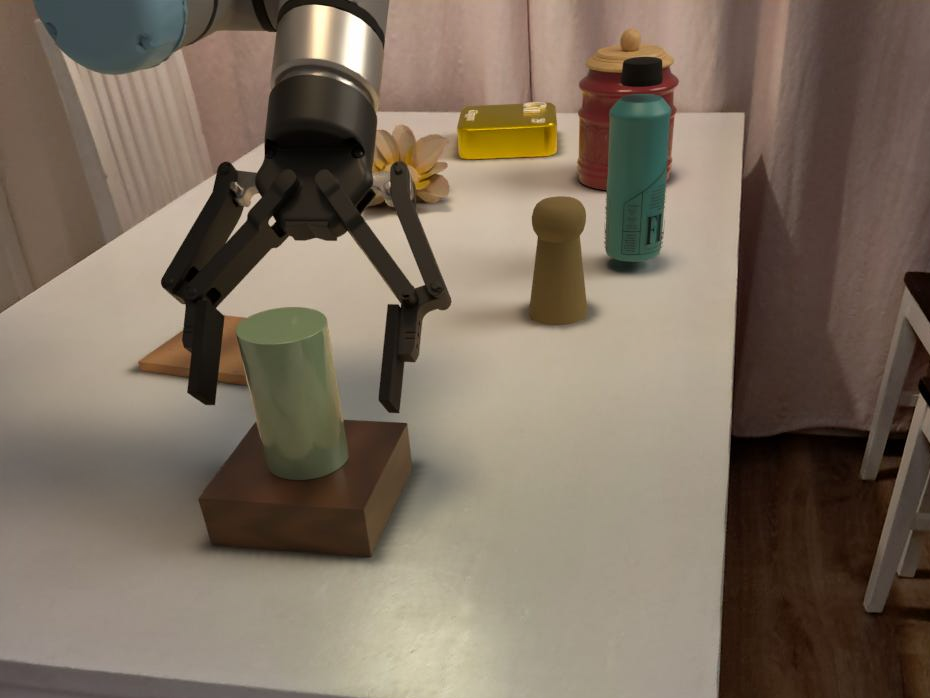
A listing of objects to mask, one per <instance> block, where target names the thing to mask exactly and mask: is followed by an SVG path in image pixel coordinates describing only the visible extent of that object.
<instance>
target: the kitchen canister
mask: <svg viewBox="0 0 930 698" xmlns="http://www.w3.org/2000/svg"><path fill="white" fill-rule="evenodd" d="M619 40H620V41H619V42H620V44H617V45H616V44H615V45H610V46H605V47H602V48H599V49H597V51H596V52H595V54H593V55H592V56H591V57H588V59H587V60H586V61H585V66H586V68H588V72H587V74H586V75H585V76H584V77H582V78H581V80H579V81H578V87H579V89H580V90H581V92H582V99H581V107H580V108H579V109H578V111H577V115H578V118H579V121H578V123H579V124H578V129H579V130H578V156H577V161H576V164H577V166H576V170H577V174H578V180H579V182H580V183H581V184H583V185H584V186H587V187H589V188H591V189H592V188H593V189H597V190H603V191H607V178H608V176H607V175H608V155H609V126H610V117H609V112H610V109H611V108H612V107H613V105H614V104H615V103H616V102H617V101H618V100H619V99H620V98H621V97H623V96H626V95H632V94H654V95H659V96H661V97H662V98H663V99H664V100H665V101H666V102H667V104H668V105H669V106H670V108H671V115H670V126H669V141H668V143H669V145H668V161H667V164H669V165H667V175H666V182H667V181H668V180H669V178H670V173H671V171H672V166H673V165H672V163H673V156H672V153H673V143H674V142H673V140H674V131H675V130H674V129H675V128H674V127H675V117H676V114H677V111H678V110H677V107H676V105H674V104H675V102H674V96H675V95H674V93H675V89H676V88H677V86H678V85H679V83H680V80H679V78H678V76H676V75H675V74H674V73H672V70H671V67H672V65H673V64H674V62H675V58H674V57H672V56H671V55H670V54H669V53H667V52H666V51H665V50H664V48H663V47H662V46H658V45H653V44H641V43H642V36H641V34H640V32H639V31H638V30H637V29H636V28H628V29H627V28H626V29H625V30H624V31H623V32H622V34H621V36H620V39H619ZM634 57H656V58H660V59H661V60H662V74H663V81H662V83H661V84H659V85H655V86H649V87H629V86H624V85H622V84H621V75H622V67H623V62H624V61H625V60H626V59H629V58H634ZM669 148H670V150H669ZM605 185H606V186H605Z"/></svg>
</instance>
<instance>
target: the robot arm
mask: <svg viewBox="0 0 930 698" xmlns="http://www.w3.org/2000/svg"><path fill="white" fill-rule="evenodd" d="M390 1H391V0H32V3H33V7H34V9H35V12H36V14H37V17H38V18H39V21H40V22H41V23H42V25H43V27H44V28H45V29H46V31H47V33H48V35H49V36H50V37H51V39H52V41H53V42H54V44H55V45H56V47H57V48H59V50H60V51H61V52H62V53H64V54H65V56H66V57H68V58H69V59H70V60H72V61H73V62H75V63H77V64H78V65H79V66H82V67H83V68H85V69H86V70H89V71H92V72H94V73H98V74H101V75H109V76H110V75H111V76H120V75H127V74H131V73H134V72H135V73H136V72H138V71H141V70H150V69H152V68H156V67H158V66H160V65H161V64H162V63H164V62H166V61H168V60H169V59H170V58H171V56H172V55H173V54H174V53H176V52H178V51H179V50H181V49H183V48H184V47H188V46H191V45H193V44H195V43H197V42H199V41H201V40H203V39H204V38H207V37H209V36H211V35H212V34H215V33H216V32H220V31H221V32H223V31H224V32H225V31H227V32H228V31H229V32H230V31H232V32H233V31H234V32H268V33H276V34H275V40H274V47H273V48H274V50H273V57H272V65H271V73H270V81H269V83H270V89H271V90H270V93H269V95H268V101H267V102H268V104H267V112H266V120H265V130H264V139H263V140H264V143H263V144H264V146H263V148H264V156H263V157H264V158H263V161H262V163H261V166H260V168H259V169H258V170H257V172H256V171H255V172H253V171H245V170H238V169H236V167H235V165H234V164H232V163H231V162H230V161H223V162H221V163H219V165H218V166H217V169H216V174H215V179H214V183H213V188H212V192H211V193H210V195H209V197H208V199H207V201H206V202H205V204H204V206H203V207H202V209H201V211H200V212H199V214H198V215H197V217H196V219H195V221H194V223H193V224H192V226H191V227H190V229H189V231H188V233H187V234H186V235H185V238H184V239H183V241H182V243H181V245H180V246H179V248H178V250H177V251H176V253H175V255H174V256H173V258H172V260H171V261H170V264H169V265H168V267H167V269H166V270H165V272H164V274H163V275H162V276H161V279H160V285H161V288H163V290H165V291H166V292H167V293H168V294H169V295H170V296H171V297H172V298H174V299H175V300H176V301H177V302H178V303H180V304H181V305H185V308H184V319H183V327H182V331H183V336H182V342H183V346H184V348H185V349H186V350H188V351H189V352H190V353H191V361H190V371H189V377H188V379H187V380H188V381H187V389H186V392H187V394H188V395H189V396H191V397H193V398H194V399H196V400H197V401H198V402H200V403H202V405H204V406H216V400H217V391H218V382H219V381H218V373H219V364H220V354H221V345H222V336H223V327H224V317H225V316H224V315H225V314H223V313H222V312H221V311H219V310H218V309H217V308H218V307H219V305H221V304H222V302H223V301H224V300H225V299H226V298H227V297H228V296H229V295H230V294H231V293H232V292H233V291H234V290H235V288H236V287H237V286H238V285H239V284H240V283H241V282H242V281H243V280H244V279H245V278H246V277H247V276H248V275H249V274H250V272H251V271H252V270H253V269H254V268H255V267H256V266H257V265H258V264H259V263H260V261H262V260H263V259H264V257H265V256H266V255H267V254H268V253H269V252H270V251H271V250H272V249H277V248H279V247H280V246H282V244H283V243H284V242H285V241H286V240H287V239H288V238H289V237H290V238H291V237H292V238H293V240H294V241H295V242H296V241H298V242H301V241H310V240H313V239H319V240H322V241H326V242H337V241H338V238H340V237H342V236H343V235H345V234H347V232H348V234H349V235H350V236H351V238H352V239H353V241H354V242H355V244H357V246H358V248H359V249H360V250H361V251H362V253H363V254H364V255H365V256H366V258H367V259H368V261H369V262H370V263H371V265H372V266H373V267H374V269H375V270H376V272H377V273H378V275H379V276H380V277H381V278H382V280H383V282H385V284H386V285H387V287H388V288H389V289H390V291H391V292H392V294H393V295H394V296H395V298H396V299H397V300H398V302H399V303H400V304H399V303H387V305H386V306H387V307H386V317H385V327H384V337H383V339H384V340H383V348H382V358H381V366H380V367H381V369H380V378H379V388H378V397H377V401H378V402H379V403H380V404H381V406H382V407H383V408H384V409H385V410H386V412H388V413H389V414H400V411H401V401H402V400H401V399H402V392H403V391H402V390H403V381H404V371H405V363H416V362H417V360H418V358H419V356H420V350H421V349H420V348H421V347H420V346H421V339H422V328H423V320H424V318H425V316H426V315H427V314H428V313H430V312H434V311H437V310H439V311H447V310H449V308H450V307H451V305H452V301H453V300H452V297H451V295H450V293H449V290H448V287H447V285H446V282H445V280H444V278H443V274H442V272H441V269H440V266H439V265H438V262H437V260H436V257H435V255H434V252H433V250H432V247H431V244H430V242H429V240H428V237H427V234H426V232H425V229H424V227H423V224H422V221H421V219H420V217H419V215H418V212H417V196H416V186H415V183H414V181H413V179H412V176H411V174H410V172H409V169H408V167H407V165H406V163H405V162H403V161H397V162H395V163H393V164H392V166H391V168H390V171H383V172H375V173H373V172H372V166H373V161H374V151H375V141H376V131H377V130H378V115H377V113H378V110H379V107H380V106H379V105H380V96H381V88H382V79H383V69H384V60H385V43H386V33H387V26H388V16H389V8H390V7H389V6H390ZM258 194H259V195H260V197H261V198H259V200H258V201H257V202H255V204H254V205H253V206H252V207H251V208H250V209H249V210H248V212H247V215H246V220H245V222H244V223H242V225H241V226H240V227H239V228H238V229H237V230H236V231H235V232H234V230H235V229H236V226H237V225H238V223H239V221H240V219H241V217H242V214H243V212H244V208H249V207H250V206H251V205H252V201H251V200H252V198H253V197H254V196H255V195H258ZM376 194H381V195H383V197H384V202H385V203H386V204H387V206H389V207H392V208H394V210H395V212H396V215H397V219H398V220H399V223H400V225H401V227H402V230H403V233H404V235H405V238H406V240H407V243H408V245H409V248H410V250H411V253H412V256H413V258H414V260H415V263H416V265H417V268H418V271H419V273H420V276H421V279H422V281H423V284H424V285H420V286H418V287H414V285H413V284H412V283H411V282H410V280H409V279H408V277H407V276H406V275H405V273H404V272H403V270H402V269H401V268H400V266H399V265H398V264H397V263H396V261H395V260H394V259H393V257H392V256H391V255H390V253H389V252H388V250H387V249H386V247H385V246H384V245H383V244H382V242H381V240H380V239H379V238H378V236H377V235H376V234H375V232H374V231H373V230H372V228H371V227H370V225H369V224H368V223H367V221H366V220H365V218H364V217H363V216H362V214H363V213H364V212H365V211H366V209H367V208H368V205H369V204H370V203H371V202H372V201H373V199H374V198H375V196H376ZM271 218H273V219H274V221H275V222H274V223H273V224H272V225H270V224H269V222H270V221H271ZM233 232H234V233H233ZM231 234H232V236H231ZM230 236H231V237H230Z"/></svg>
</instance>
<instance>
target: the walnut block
mask: <svg viewBox="0 0 930 698" xmlns="http://www.w3.org/2000/svg"><path fill="white" fill-rule="evenodd" d="M343 420H344V426H345V432H346V439H347V445H348V451H349V456H348V459H347V461H346V463H345V464H344V465H343V466H342V467H341V468H339V469H338V470H336V471H335V472H333V473H331V474H328V475H326V476H323V477H319V478H315V479H309V480H289V479H284V478H280V477H278V476H275V475H274V474H272V473H271V472H270V471H269V470H268V468H267V466H266V462H265V457H264V453H263V449H262V444H261V440H260V436H259V431H258V427H257V423H256V421H255V422H254V423H253V424H252V426H251V427H250V428H249V430H248V431H247V432H246V434H245V435H244V436H243V438H242V439H241V440H240V442H239V443H238V444H237V446H236V447H235V448H234V450H233V451H232V452H231V454H230V455H229V456H228V458H227V459H226V461H224V463H223V464H222V466H221V467H220V468H219V470H218V471H217V472H216V474H215V475H214V476H213V478H212V479H211V481H210V482H209V483H208V485H206V487H205V489H204V490H203V491H202V493H200V495H199V497H198V498H197V500H198V504H199V507H200V510H201V511H200V512H201V514H202V517H203V521H204V524H205V527H206V531H207V534H208V538H209V541H210V544H211V546H222V547H233V548H246V549H261V550H275V551H289V552H299V553H311V554H312V553H314V554H326V555H329V554H330V555H339V556H340V555H341V556H350V557H351V556H352V557H366V558H371V557H372V556H373V554H374V552H375V550H376V547H377V545H378V544H379V541H380V539H381V537H382V535H383V533H384V531H385V528H386V526H387V524H388V522H389V519H390V517H391V515H392V513H393V512H394V511H393V510H394V508H395V507H396V504H397V502H398V500H399V498H400V496H401V494H402V491H403V489H404V487H405V485H406V483H407V480H408V478H409V476H410V474H411V472H412V470H413V460H412V452H411V442H410V433H409V425H408V422H400V421H399V422H396V421H379V420H378V421H377V420H359V419H358V420H357V419H343Z"/></svg>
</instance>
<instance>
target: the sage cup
mask: <svg viewBox="0 0 930 698" xmlns="http://www.w3.org/2000/svg"><path fill="white" fill-rule="evenodd" d="M245 318H246V319H244V320H243V321H241V322H240V323H239V324H238V326H237V327H236V336H237V341H238V345H239V349H240V354H241V358H242V362H243V367H244V371H245V375H246V380H247V384H248V385H247V388H248V391H249V396H250V402H251V406H252V409H253V414H254V418H255V422H256V423H257V427H258V431H259V436H260V440H261V444H262V449H263V453H264V457H265V462H266V466H267V468H268V470H269V471H270V472H271V473H272V474H274V475H275V476H278V477H280V478H284V479H289V480H309V479H315V478H319V477H323V476H326V475H328V474H331V473H333V472H335V471H336V470H338V469H339V468H341V467H342V466H343V465H344V464H345V463H346V461H347V459H348V456H349V451H348V445H347V439H346V432H345V426H344V420H345V419H344V413H343V408H342V403H341V395H340V389H339V384H338V377H337V370H336V366H335V359H334V354H333V347H332V340H331V334H330V328H329V321H328V318H327V316H326V315H325V314H324V313H323V312H321V311H319V310H317V309H314V308H310V307H303V306H284V307H277V308H271V309H266V310H263V311H259V312H257V313H254V314H252V315H249V316H248V317H245Z"/></svg>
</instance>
